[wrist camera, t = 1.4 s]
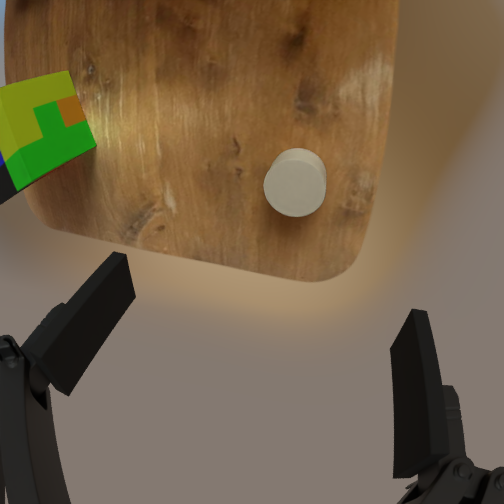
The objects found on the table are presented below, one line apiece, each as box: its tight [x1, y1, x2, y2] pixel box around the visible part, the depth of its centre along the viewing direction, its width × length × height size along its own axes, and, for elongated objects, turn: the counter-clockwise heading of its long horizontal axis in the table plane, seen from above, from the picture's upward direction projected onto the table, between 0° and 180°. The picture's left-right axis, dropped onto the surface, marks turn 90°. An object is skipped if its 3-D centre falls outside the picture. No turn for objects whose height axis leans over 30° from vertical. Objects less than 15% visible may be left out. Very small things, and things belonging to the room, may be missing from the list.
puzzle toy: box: [0, 71, 97, 205], centre depth 25 cm, size 10×10×10 cm
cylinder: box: [264, 148, 327, 217], centre depth 26 cm, size 5×5×4 cm
